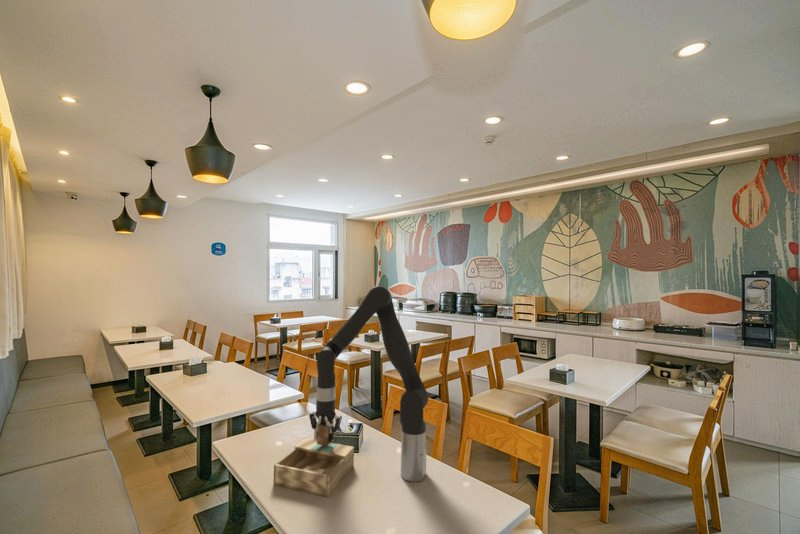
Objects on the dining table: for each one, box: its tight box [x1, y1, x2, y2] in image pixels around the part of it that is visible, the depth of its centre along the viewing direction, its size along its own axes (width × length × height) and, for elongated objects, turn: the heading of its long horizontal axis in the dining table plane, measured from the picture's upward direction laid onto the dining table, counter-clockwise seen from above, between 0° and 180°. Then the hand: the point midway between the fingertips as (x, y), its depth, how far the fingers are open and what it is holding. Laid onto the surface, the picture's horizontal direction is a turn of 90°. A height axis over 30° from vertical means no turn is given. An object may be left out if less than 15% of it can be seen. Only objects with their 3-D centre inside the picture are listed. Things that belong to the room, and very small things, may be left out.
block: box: [317, 423, 331, 446], centre depth 143 cm, size 4×4×8 cm
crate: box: [273, 438, 355, 498], centre depth 137 cm, size 22×21×8 cm
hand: (324, 440), depth 143 cm, fingers closed on block, 4 cm apart
